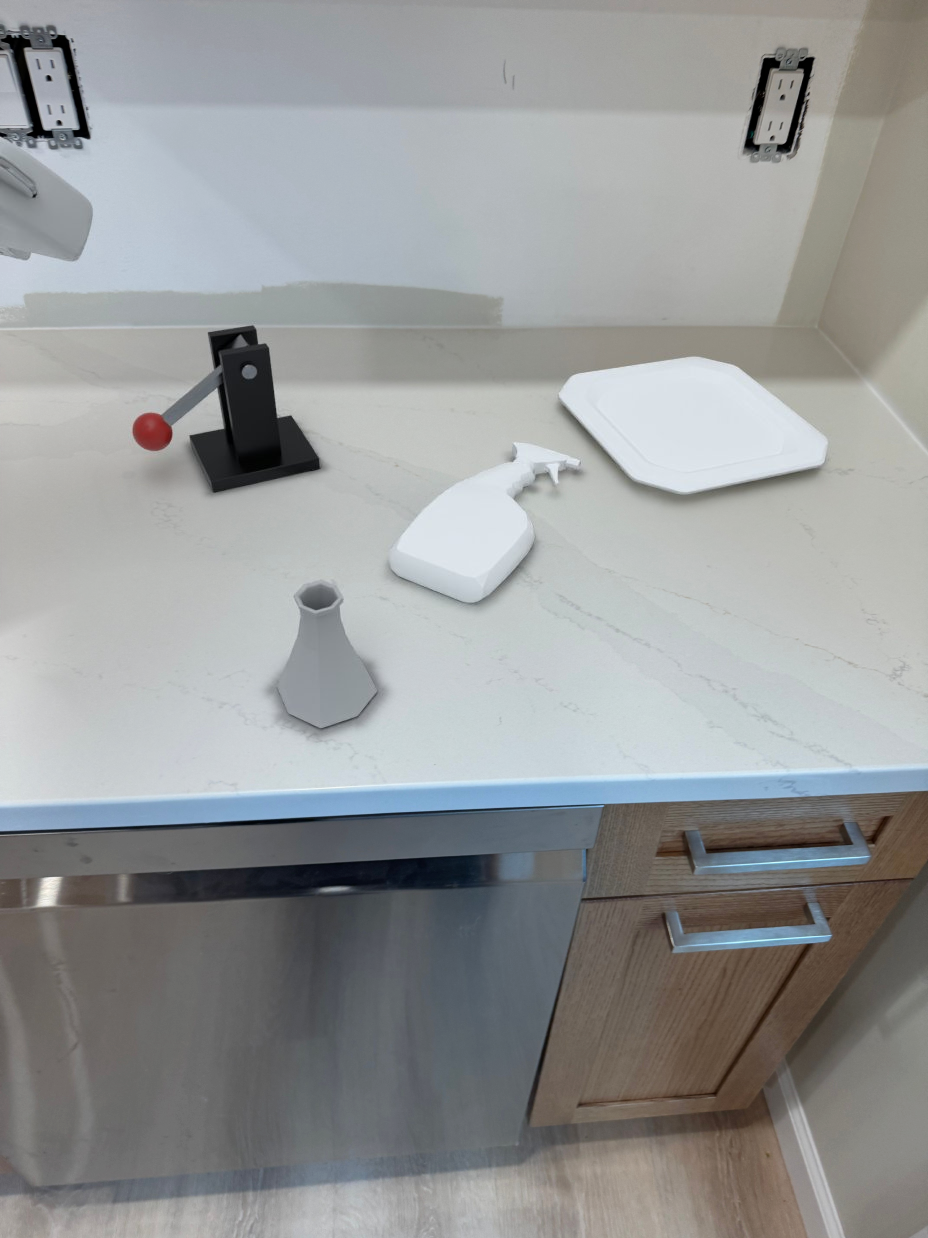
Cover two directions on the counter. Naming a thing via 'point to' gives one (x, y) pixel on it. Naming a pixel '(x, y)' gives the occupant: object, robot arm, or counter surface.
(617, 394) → the plate
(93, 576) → the counter surface
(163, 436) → the lever
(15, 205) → the robot arm
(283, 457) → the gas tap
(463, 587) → the spray bottle
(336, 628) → the flask
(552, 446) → the counter surface
